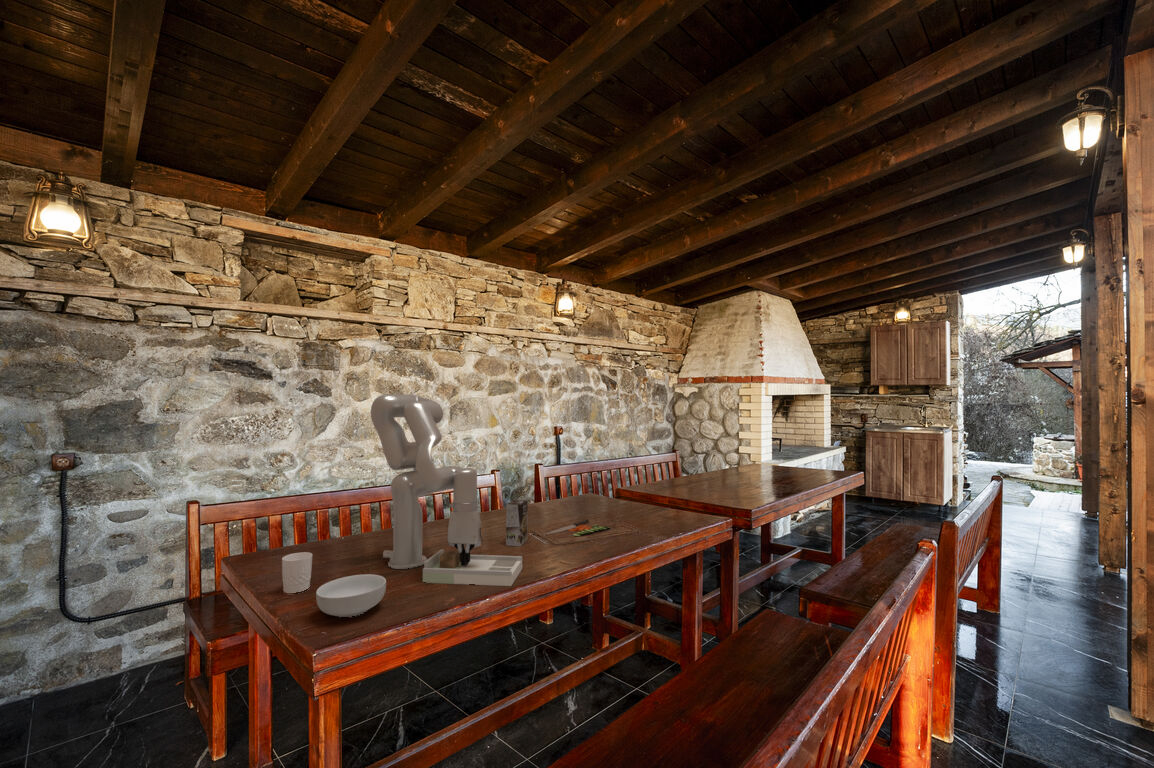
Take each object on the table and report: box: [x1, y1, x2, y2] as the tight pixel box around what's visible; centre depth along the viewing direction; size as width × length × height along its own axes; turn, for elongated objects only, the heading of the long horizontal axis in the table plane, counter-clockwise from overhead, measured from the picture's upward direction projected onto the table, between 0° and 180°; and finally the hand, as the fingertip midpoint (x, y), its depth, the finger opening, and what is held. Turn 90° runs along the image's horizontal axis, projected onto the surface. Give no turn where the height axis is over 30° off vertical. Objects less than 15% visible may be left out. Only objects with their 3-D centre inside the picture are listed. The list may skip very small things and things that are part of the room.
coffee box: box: [505, 499, 529, 547], centre depth 189 cm, size 9×6×16 cm
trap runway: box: [422, 549, 523, 587], centre depth 153 cm, size 28×15×6 cm, turn 83°
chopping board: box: [528, 518, 638, 546], centre depth 205 cm, size 45×27×3 cm, turn 119°
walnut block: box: [440, 550, 460, 568], centre depth 154 cm, size 5×5×4 cm
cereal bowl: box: [315, 573, 387, 618], centre depth 127 cm, size 17×17×7 cm
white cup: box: [281, 551, 313, 593], centre depth 142 cm, size 8×8×10 cm
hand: (464, 564), depth 153 cm, fingers closed
